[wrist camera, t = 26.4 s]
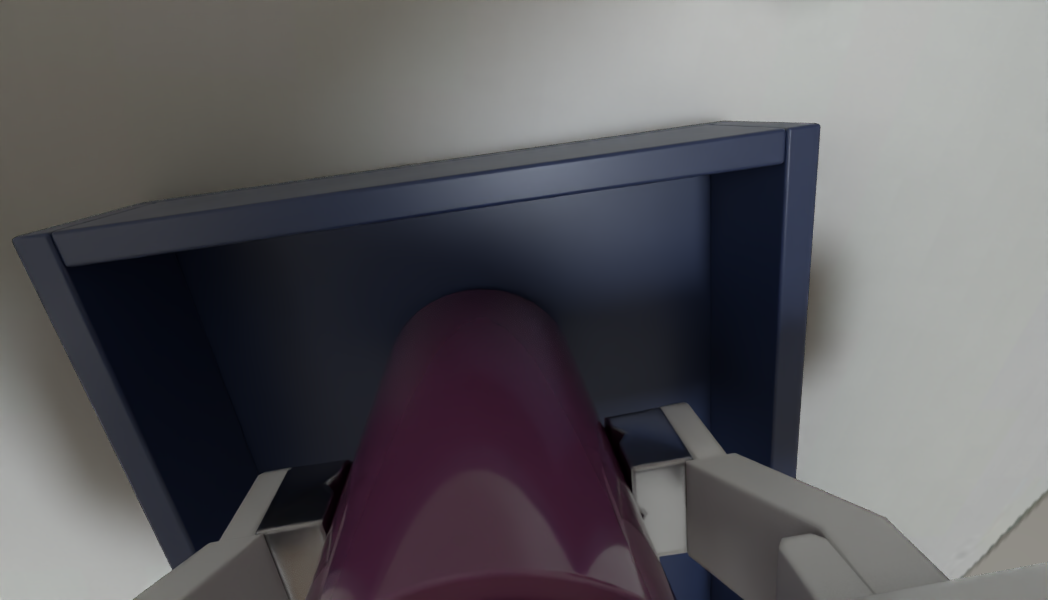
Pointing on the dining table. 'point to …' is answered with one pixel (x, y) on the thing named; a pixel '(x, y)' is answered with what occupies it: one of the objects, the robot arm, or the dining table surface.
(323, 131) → the dining table surface
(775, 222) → the tray
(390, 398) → the spice jar
